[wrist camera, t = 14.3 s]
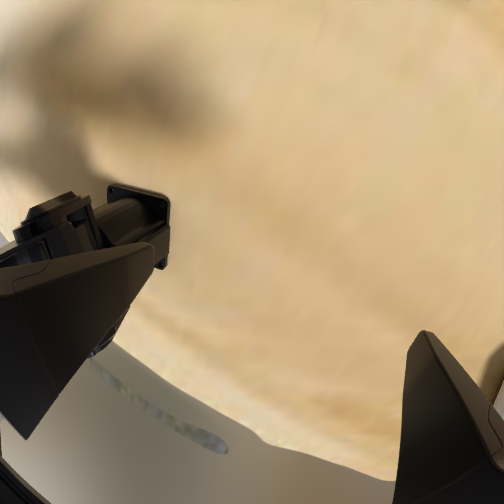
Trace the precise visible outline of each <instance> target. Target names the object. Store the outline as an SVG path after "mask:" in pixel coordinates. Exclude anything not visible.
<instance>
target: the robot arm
mask: <svg viewBox="0 0 504 504" xmlns="http://www.w3.org/2000/svg"><path fill="white" fill-rule="evenodd" d="M112 189H113V191H112ZM162 202H164V203H165V206H164V205H163V203H162ZM169 218H170V201H169V199H168V198H166V197H163V196H159V195H155V194H151V193H147V192H143V191H139V190H135V189H131V188H127V187H123V186H119V185H115V184H112V185H110V186H108V188H107V204H104V205H102V206H100V207H98V208H96V209H94V210H92V206H91V198H90V195H88V196H85V197H83V198H81V196H76V195H75V194H74V193H73V192H72V191H70V192H68V193H65V194H63V195H60V196H58V197H56V198H53V199H51V200H48V201H46V202H44V203H41V204H39V205H37V206H34V207H32V208H30V209H29V211H28V214H27V216H26V219H25V220H24V221H22V222H21V225H20V226H19V227H17V228H15V229H14V230H12V231H13V234H14V237H15V240H14V241H12V242H10V243H9V244H7V245H5V246H3V247H1V248H0V422H1V421H2V420H3V419H5V420H6V421H7V422H8V423H9V424H10V425H11V426H12V427H13V428H14V429H15V430H16V431H17V432H18V433H19V434H20V435H21V436H22V437H23V438H24V439H25V440H27V439H28V438H29V437H30V435H31V433H32V432H33V431H34V429H35V428H36V426H37V425H38V424H39V422H40V421H41V419H42V418H43V416H44V415H45V414H46V412H47V411H48V409H49V408H50V406H51V405H52V404H53V403H54V401H55V400H56V398H57V397H58V396H59V394H60V393H61V391H62V390H63V389H64V387H65V386H66V385H67V383H68V382H69V381H70V379H71V378H72V377H73V376H74V374H75V373H76V372H77V370H78V369H79V368H80V366H81V365H82V364H83V363H84V361H85V360H86V359H87V358H90V357H93V356H95V355H96V353H98V352H100V351H101V350H103V349H104V348H105V347H106V346H107V345H108V344H109V343H110V342H111V341H112V339H113V338H114V336H115V334H116V332H117V330H118V328H119V326H120V325H121V323H122V321H123V319H124V317H125V315H126V314H127V312H128V310H129V308H130V305H131V303H132V302H133V300H134V299H135V297H136V296H137V294H138V293H139V292H140V290H141V289H142V287H143V286H144V284H145V283H146V281H147V280H148V278H149V277H150V276H151V274H152V272H153V270H154V268H157V269H160V270H163V269H164V268H165V267H166V266H167V257H168V254H169V241H170V226H169ZM160 262H161V263H162V265H161V263H160ZM0 435H1V434H0ZM0 504H51V503H50V502H49V501H48V500H46V499H45V498H44V497H43V496H42V495H41V494H39V493H38V492H37V491H36V490H35V489H34V488H32V486H30V485H29V484H28V483H27V482H26V481H25V480H24V479H23V478H22V477H21V476H20V475H19V474H18V473H17V472H16V471H14V469H13V468H12V467H11V466H10V465H9V464H8V463H7V462H6V461H5V460H4V459H3V458H2V452H1V437H0ZM392 504H504V420H503V419H502V417H501V416H500V415H499V413H498V412H497V411H496V409H495V408H494V407H493V405H492V404H491V403H490V401H489V400H488V399H487V397H486V396H485V395H484V394H483V392H482V391H481V390H480V388H479V387H478V386H477V385H476V383H475V382H474V381H473V380H472V378H471V377H470V376H469V375H468V373H467V372H466V371H465V370H464V368H463V367H462V366H461V365H460V364H459V362H458V361H457V360H456V359H455V358H454V356H453V355H452V354H451V353H450V352H449V351H448V349H447V348H446V347H445V346H444V345H443V344H442V342H441V341H440V340H439V339H438V338H437V337H436V336H435V334H434V333H432V332H429V331H425V330H422V331H420V332H419V334H418V335H417V337H416V338H415V340H414V342H413V343H412V345H411V346H410V348H409V350H408V352H407V360H406V370H405V380H404V388H403V402H402V425H401V440H400V451H399V461H398V469H397V477H396V484H395V491H394V497H393V502H392Z"/></svg>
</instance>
